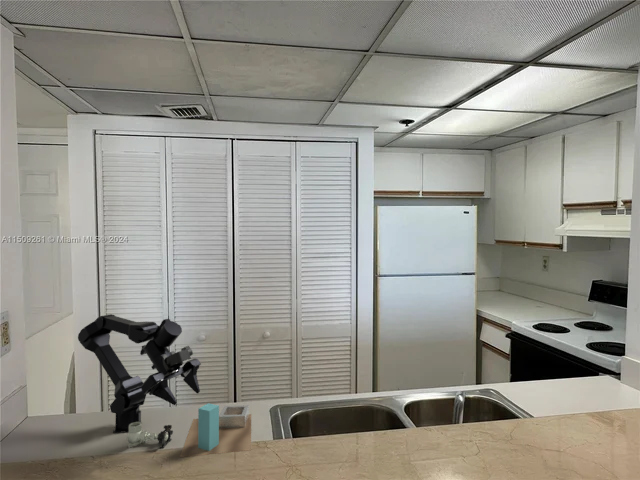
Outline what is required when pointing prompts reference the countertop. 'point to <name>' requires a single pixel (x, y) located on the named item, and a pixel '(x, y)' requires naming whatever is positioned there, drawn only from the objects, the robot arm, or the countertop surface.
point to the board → (228, 440)
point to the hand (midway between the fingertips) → (187, 398)
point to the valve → (147, 435)
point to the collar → (234, 416)
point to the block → (208, 426)
